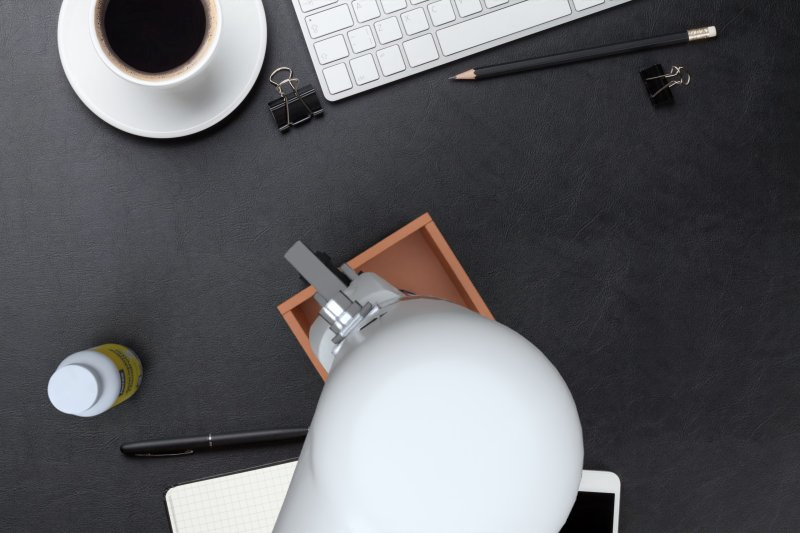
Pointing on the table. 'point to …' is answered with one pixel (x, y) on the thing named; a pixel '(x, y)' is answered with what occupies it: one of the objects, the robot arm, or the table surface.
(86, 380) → the pill bottle
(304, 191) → the table surface
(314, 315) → the bin
